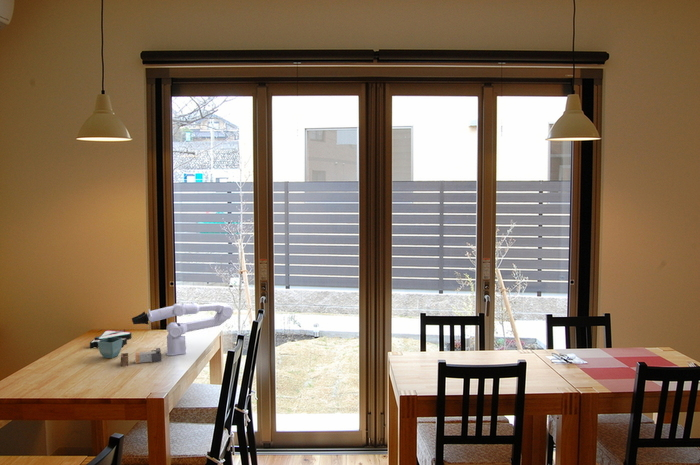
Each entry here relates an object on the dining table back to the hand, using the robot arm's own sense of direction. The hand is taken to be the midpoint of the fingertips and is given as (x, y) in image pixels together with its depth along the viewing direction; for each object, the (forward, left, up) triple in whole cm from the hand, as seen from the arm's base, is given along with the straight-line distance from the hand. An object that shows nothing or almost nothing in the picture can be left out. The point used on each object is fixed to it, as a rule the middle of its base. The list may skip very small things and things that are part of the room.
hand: (132, 321), depth 269 cm
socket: (+4, +7, -19) cm, 21 cm away
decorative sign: (+12, -38, -20) cm, 45 cm away
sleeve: (-11, +7, -19) cm, 23 cm away
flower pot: (+11, -8, -20) cm, 24 cm away
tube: (-7, +7, -19) cm, 22 cm away
